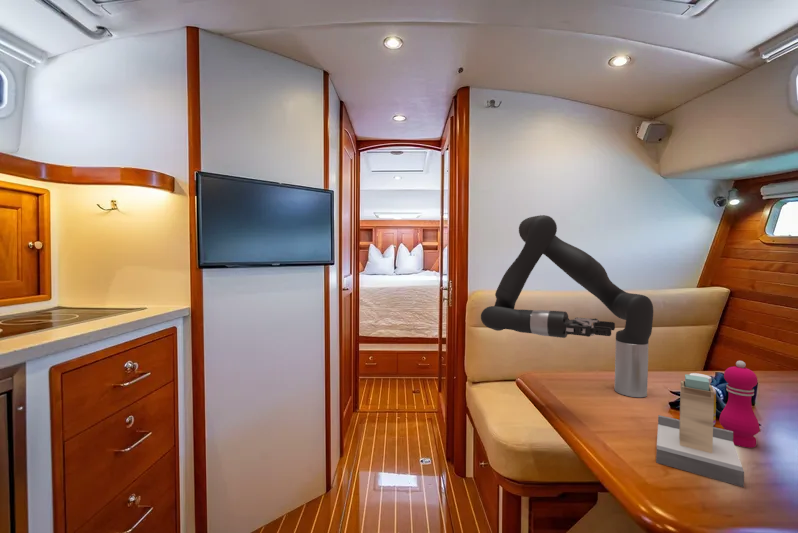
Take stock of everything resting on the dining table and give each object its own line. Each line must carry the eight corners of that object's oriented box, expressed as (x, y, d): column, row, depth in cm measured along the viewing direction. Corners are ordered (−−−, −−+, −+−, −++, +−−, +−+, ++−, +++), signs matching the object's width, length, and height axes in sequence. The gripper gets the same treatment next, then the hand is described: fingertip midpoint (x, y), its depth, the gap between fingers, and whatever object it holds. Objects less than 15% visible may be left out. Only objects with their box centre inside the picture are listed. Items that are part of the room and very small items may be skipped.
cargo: (684, 387, 84) (685, 374, 84) (707, 390, 82) (707, 377, 82) (685, 392, 81) (685, 378, 81) (708, 396, 78) (709, 382, 78)
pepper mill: (767, 450, 85) (770, 366, 84) (731, 447, 86) (734, 364, 86) (744, 435, 92) (747, 357, 91) (711, 432, 93) (714, 356, 93)
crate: (679, 435, 85) (680, 380, 85) (709, 443, 82) (711, 385, 82) (679, 445, 81) (681, 386, 81) (712, 453, 78) (714, 392, 77)
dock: (657, 434, 92) (658, 415, 92) (732, 452, 84) (732, 431, 84) (656, 462, 79) (656, 440, 79) (743, 487, 71) (744, 462, 71)
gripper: (542, 314, 100) (610, 319, 91) (554, 307, 112) (615, 311, 102) (542, 340, 100) (610, 348, 91) (555, 331, 112) (615, 337, 102)
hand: (613, 329), depth 96 cm, fingers open, 8 cm apart
